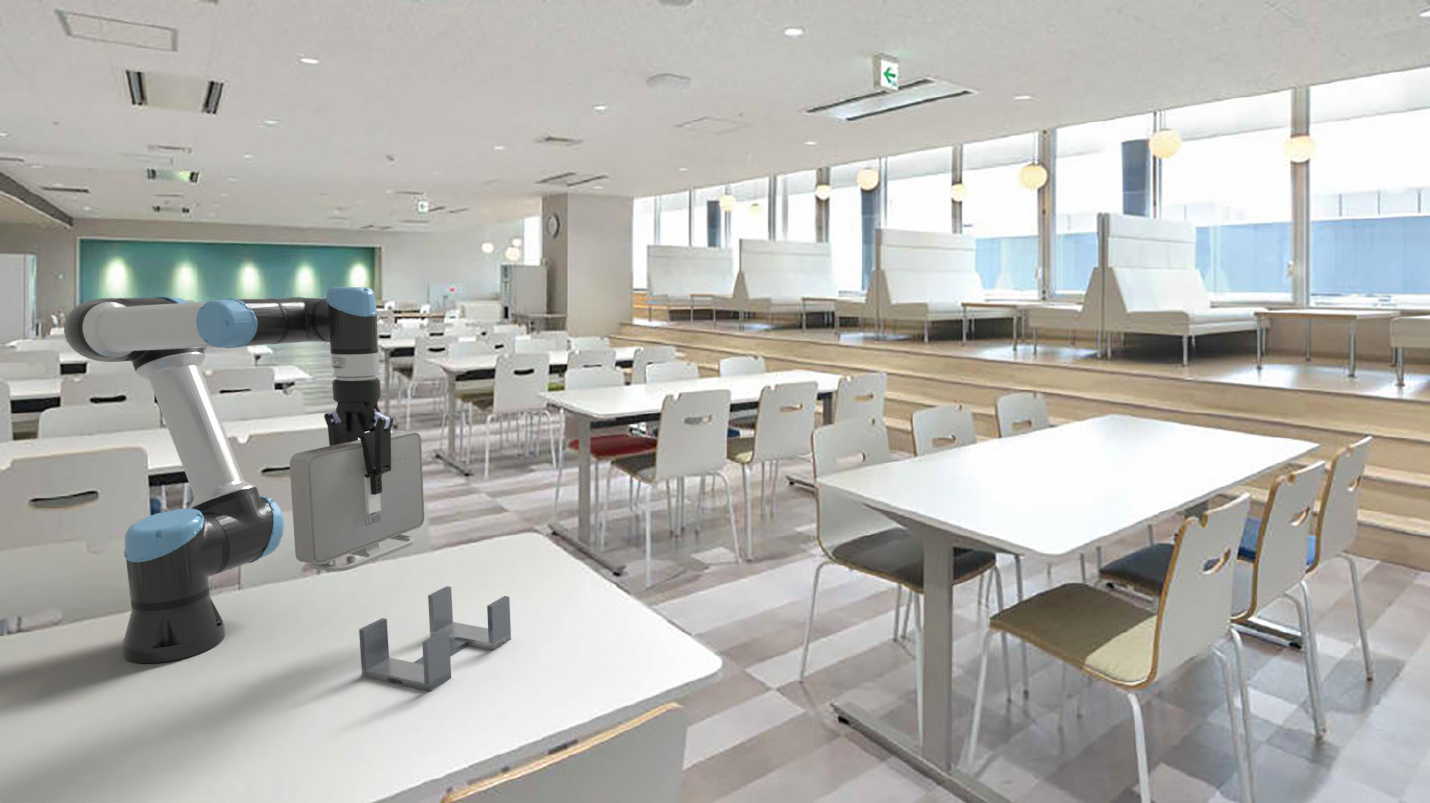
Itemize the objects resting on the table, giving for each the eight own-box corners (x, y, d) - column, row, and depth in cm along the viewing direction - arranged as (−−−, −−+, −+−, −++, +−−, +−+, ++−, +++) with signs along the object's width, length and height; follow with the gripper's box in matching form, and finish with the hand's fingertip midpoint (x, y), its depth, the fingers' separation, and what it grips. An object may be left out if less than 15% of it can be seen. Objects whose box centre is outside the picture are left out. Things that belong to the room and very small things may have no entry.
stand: (362, 675, 135) (359, 629, 133) (448, 626, 154) (446, 586, 153) (429, 691, 129) (427, 643, 128) (511, 638, 149) (509, 596, 147)
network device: (324, 580, 132) (316, 458, 129) (284, 572, 135) (276, 453, 132) (434, 536, 155) (430, 431, 152) (398, 530, 158) (393, 428, 156)
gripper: (301, 377, 140) (310, 510, 144) (377, 382, 134) (384, 521, 137) (336, 373, 147) (344, 500, 151) (410, 377, 141) (416, 510, 144)
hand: (363, 510), depth 144 cm, fingers closed on network device, 4 cm apart
